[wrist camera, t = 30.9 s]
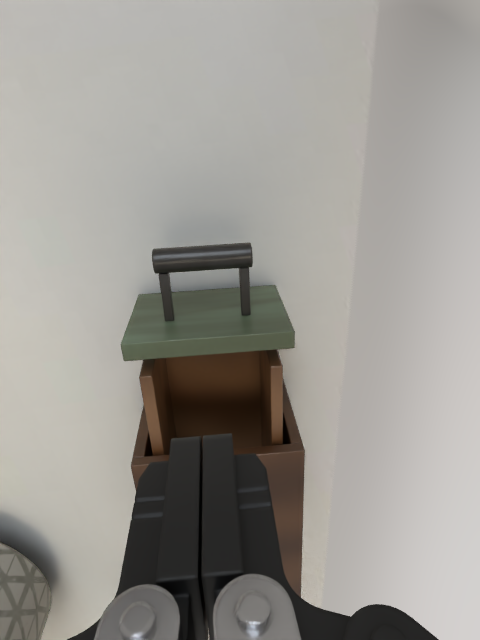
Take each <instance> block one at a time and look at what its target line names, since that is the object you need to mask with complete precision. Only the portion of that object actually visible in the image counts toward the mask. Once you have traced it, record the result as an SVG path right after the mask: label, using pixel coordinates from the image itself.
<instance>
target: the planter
mask: <svg viewBox="0 0 480 640" xmlns="http://www.w3.org/2000/svg"><path fill="white" fill-rule="evenodd" d="M50 607H51V591H50V588H49V584H48V582H47V580H46V578H45V577H44V575H43V574H42V572H41V571H40V570H39V569H38V567H37V566H36V565H35V564H34V563H32V562H31V561H30V560H29V559H28V558H27V557H25V556H24V555H22V554H21V553H19V552H18V551H16V550H15V549H13V548H11V547H9V546H7V545H5V544H3V543H1V542H0V640H41V637H42V633H43V630H44V627H45V624H46V621H47V617H48V614H49V611H50Z"/></svg>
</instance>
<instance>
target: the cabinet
mask: <svg viewBox="0 0 480 640" xmlns="http://www.w3.org/2000/svg"><path fill="white" fill-rule="evenodd" d="M233 451H234V455H239V454H250V453H255V454H256V455H257V456H258V458H259V459H260V460H261V462H262V463H263V465H264V466H265V467H266V469H267V475H268V481H269V488H270V493H271V499H272V507H273V511H274V517H275V523H276V529H277V535H278V541H279V547H280V552H281V558H282V564H283V569H284V573H285V576H286V579H287V581H288V583H289V584H290V586H291V588H292V589H293V590H294V591H295V593H296V594H297V595H298V596H300V597H301V569H302V531H303V494H304V456H305V450H304V447H303V444H302V440H301V437H300V434H299V430H298V427H297V424H296V420H295V417H294V414H293V410H292V407H291V403H290V400H289V397H288V393H287V390H286V387H285V383H284V380H283V445H273V446H262V447H250V448H239V449H233ZM160 461H169V455H159V456H153V453H152V447H151V442H150V436H149V430H148V424H147V419H146V413H145V407H144V405H143V410H142V415H141V420H140V425H139V429H138V434H137V439H136V444H135V449H134V453H133V459H132V463H131V469H132V474H133V479H134V483H135V488H136V491H137V485H138V480H139V478H140V477H141V475H142V474H143V472H144V471H145V469H146V468H147V466H148V465H149V464H150V462H160Z"/></svg>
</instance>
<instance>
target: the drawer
mask: <svg viewBox="0 0 480 640" xmlns="http://www.w3.org/2000/svg"><path fill="white" fill-rule="evenodd" d="M152 261H153V268H154V272H155V273H156V274H157V273H159V281H160V288H161V293H155V294H140V295H138V298H137V301H136V304H135V306H134V309H133V312H132V315H131V317H130V320H129V323H128V326H127V328H126V331H125V334H124V337H123V340H122V342H121V349H122V354H123V359H124V361H133V360H143V364H142V368H141V372H140V376H139V379H140V384H141V390H142V396H143V402H144V407H145V413H146V419H147V424H148V430H149V436H150V442H151V447H152V453H153V456H159V455H169V452H170V443H171V439H172V438H183V437H195V436H201V438H202V446H203V436H205V435H217V434H229V433H232V439H233V449H239V448H250V447H262V446H273V445H283V366H282V363H281V359H280V356H279V353H278V350H277V349H288V348H294V343H295V331H294V329H293V326H292V324H291V322H290V319H289V317H288V314H287V312H286V310H285V307H284V305H283V302H282V300H281V298H280V295H279V293H278V290H277V288H276V286H275V285H269V286H255V287H250V282H249V267H252V263H253V259H252V247H251V243H237V244H222V245H206V246H191V247H176V248H160V249H153V251H152ZM230 268H239V280H240V288H226V289H212V290H198V291H183V292H171V284H170V276H169V273H171V272H186V271H201V270H216V269H230Z"/></svg>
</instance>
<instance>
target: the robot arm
mask: <svg viewBox="0 0 480 640" xmlns="http://www.w3.org/2000/svg"><path fill="white" fill-rule="evenodd" d="M208 628H209V635H210V640H438V639H437V638H436V637H435V636H433V635H432V634H431V633H430V632H429V631H427V630H426V629H425V628H424V627H422V626H421V625H420V624H419V623H418V622H416V621H415V620H414V619H413V618H411V617H410V616H408V615H407V614H406V613H404V612H402V611H401V610H399V609H397V608H394V607H391V606H386V605H379V604H375V605H368V606H366V607H363V608H361V609H360V610H358V611H356V612H355V614H353V615H352V617H350V616H346V615H342V614H338V613H334V612H330V611H326V610H323V609H320V608H317V607H315V606H313V605H311V604H309V603H307V602H306V601H304V600H303V599H302V598H301V597H300V596H298V595H297V594H296V593H295V591H294V590H293V589H292V588H291V586H290V584H289V583H288V581H287V579H286V576H285V573H284V569H283V564H282V558H281V552H280V547H279V541H278V535H277V529H276V523H275V517H274V511H273V507H272V499H271V493H270V488H269V481H268V475H267V469H266V467H265V466H264V465H263V463H262V462H261V460H260V459H259V458H258V456H257V455H256V454H255V453H250V454H239V455H234V451H233V439H232V433H229V434H217V435H205V436H203V446H202V438H201V436H195V437H183V438H172V439H171V443H170V452H169V461H160V462H150V464H149V465H148V466H147V468H146V469H145V471H144V472H143V474H142V475H141V477H140V478H139V480H138V485H137V491H136V496H135V503H134V507H133V512H132V520H131V523H130V529H129V534H128V539H127V545H126V550H125V556H124V561H123V566H122V572H121V577H120V583H119V587H118V591H117V593H116V596H115V598H114V600H113V601H112V602H111V603H110V604H109V605H108V607H107V608H106V610H105V611H104V613H103V615H102V617H101V618H100V619H99V620H98V621H97V622H96V623H95V624H94V625H92V626H91V627H90V628H88V629H87V630H85V631H84V632H82V633H80V634H78V635H76V636H74V637H72V638H70V639H67V640H208Z"/></svg>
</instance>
